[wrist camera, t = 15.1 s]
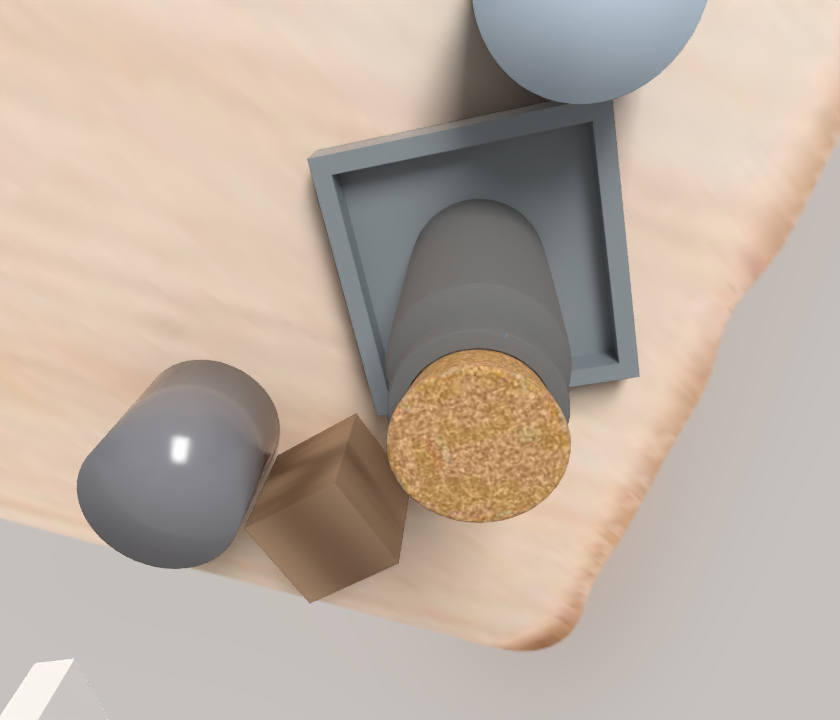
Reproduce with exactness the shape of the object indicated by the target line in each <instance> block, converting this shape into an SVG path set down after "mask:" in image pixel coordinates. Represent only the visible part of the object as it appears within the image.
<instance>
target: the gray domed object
mask: <svg viewBox="0 0 840 720" xmlns="http://www.w3.org/2000/svg"><path fill="white" fill-rule="evenodd" d="M279 433H280V425H279V418H278V414H277V411H276V408H275V406H274V404H273V402H272V400H271V398H270V397H269V395H268V394H267V393H266V391H265V390H264V389H263V388H262V387H261V386H260V385H259V383H258V382H256V381H255V380H254V379H253V378H252V377H250V376H249V375H247V374H246V373H244V372H243V371H241V370H239V369H237V368H235V367H233V366H230V365H227V364H225V363H221V362H217V361H210V360H192V361H186V362H182V363H179V364H176V365H174V366H172V367H170V368H168V369H166V370H165V371H164V372H163V373H161V374H160V375H159V376H158V377H157V378H156V379H155V380H154V382H153V383H152V384H151V385H150V386H149V387H148V388H147V389H146V391H145V392H144V393H143V394H142V395H141V396H140V397H139V399H138V400H137V401H136V402H135V403H134V404H133V405H132V406H131V408H130V409H129V410H128V411H127V412H126V413H125V414H124V416H123V417H122V418H121V419H120V420H119V421H118V422H117V424H116V425H115V426H114V427H113V428H112V429H111V430H110V431H109V433H108V434H107V435H106V436H105V437H104V438H103V439H102V441H101V442H100V443H99V444H98V445H97V446H96V447H95V448H94V450H93V451H92V452H91V453H90V454H89V455H88V456H87V458H86V459H85V461H84V462H83V464H82V466H81V469H80V471H79V475H78V479H77V494H78V500H79V504H80V507H81V509H82V512H83V514H84V516H85V518H86V520H87V521H88V523H89V524H90V526H91V527H92V529H93V530H94V531H95V532H96V533H97V534H98V535H99V537H100V538H101V539H102V540H104V541H105V542H106V543H107V544H108V545H109V546H111V547H112V548H114V549H115V550H116V551H118V552H120V553H121V554H123V555H125V556H126V557H129V558H131V559H133V560H135V561H138V562H141V563H144V564H146V565H150V566H155V567H160V568H172V569H179V568H189V567H195V566H198V565H201V564H204V563H207V562H209V561H211V560H213V559H214V558H216V557H217V556H219V555H220V554H221V553H222V552H223V551H225V550H226V548H227V547H228V546H229V545H230V543H231V542H232V540H233V538H234V536H235V534H236V532H237V530H238V528H239V526H240V524H241V522H242V519H243V517H244V515H245V513H246V511H247V509H248V507H249V504H250V502H251V500H252V498H253V496H254V494H255V492H256V490H257V487H258V485H259V483H260V481H261V479H262V477H263V475H264V472H265V470H266V468H267V466H268V464H269V462H270V460H271V458H272V455H273V453H274V451H275V449H276V446H277V443H278V440H279Z"/></svg>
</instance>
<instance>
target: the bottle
mask: <svg viewBox="0 0 840 720" xmlns="http://www.w3.org/2000/svg"><path fill="white" fill-rule="evenodd" d="M385 364H386V377H387V383H388V386H389V391H388V398H387V414H388V422H389V426H388V430H387V437H386V448H387V455H388V460H389V464H390V467H391V469H392V471H393V473H394V475H395V477H396V479H397V481H398V482H399V484H400V485H401V486H402V488H403V489H404V490H405V491H406V492H407V493H408V494H409V495H410V496H411V497H412V499H414V500H415V501H416V502H418V503H419V504H421V505H422V506H424V507H425V508H426V509H428V510H430V511H432V512H434V513H436V514H439V515H441V516H444V517H447V518H450V519H453V520H458V521H464V522H476V523H484V522H494V521H501V520H505V519H509V518H513V517H515V516H518V515H520V514H523V513H525V512H527V511H529V510H530V509H532V508H534V507H535V506H536V505H538V504H539V503H541V502H542V501H543V500H544V499H545V498H547V497H548V496H549V495H550V494H551V493H552V491H553V490H554V489H555V488H556V487H557V485H558V484H559V482H560V480H561V479H562V477H563V475H564V473H565V470H566V468H567V465H568V462H569V457H570V448H571V439H570V432H569V428H568V422H569V418H570V399H569V392H568V387H569V384H570V378H571V372H572V357H571V350H570V345H569V340H568V336H567V332H566V328H565V324H564V320H563V316H562V312H561V308H560V305H559V301H558V297H557V293H556V289H555V286H554V282H553V278H552V275H551V271H550V268H549V264H548V261H547V257H546V254H545V251H544V248H543V244H542V241H541V239H540V237H539V235H538V233H537V231H536V230H535V228H534V227H533V225H532V224H531V223H530V222H529V221H528V220H527V218H526V217H525V216H524V215H522V214H521V213H520V212H518V211H517V210H515V209H514V208H512V207H511V206H508V205H506V204H503V203H500V202H497V201H494V200H487V199H470V200H464V201H461V202H458V203H455V204H452V205H450V206H448V207H446V208H444V209H443V210H441V211H440V212H438V213H437V214H436V215H435V216H433V217H432V218H431V219H430V220H429V222H428V223H427V224H426V225H425V226H424V228H423V229H422V230H421V232H420V234H419V236H418V238H417V240H416V243H415V246H414V248H413V251H412V254H411V258H410V262H409V265H408V269H407V273H406V276H405V280H404V284H403V287H402V291H401V295H400V298H399V302H398V306H397V309H396V313H395V317H394V320H393V324H392V328H391V333H390V337H389V341H388V346H387V352H386V361H385Z"/></svg>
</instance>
